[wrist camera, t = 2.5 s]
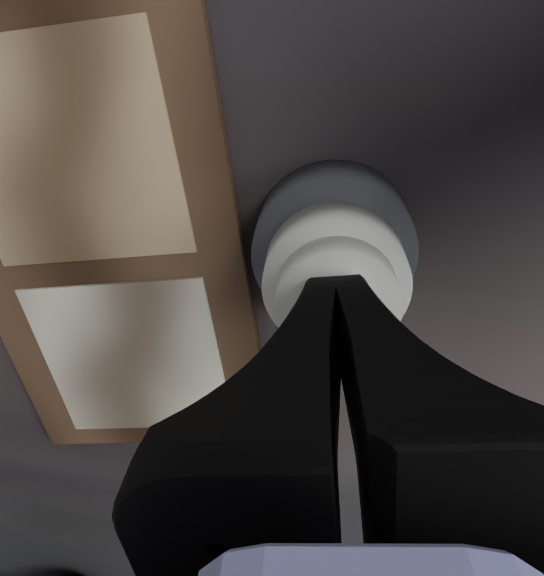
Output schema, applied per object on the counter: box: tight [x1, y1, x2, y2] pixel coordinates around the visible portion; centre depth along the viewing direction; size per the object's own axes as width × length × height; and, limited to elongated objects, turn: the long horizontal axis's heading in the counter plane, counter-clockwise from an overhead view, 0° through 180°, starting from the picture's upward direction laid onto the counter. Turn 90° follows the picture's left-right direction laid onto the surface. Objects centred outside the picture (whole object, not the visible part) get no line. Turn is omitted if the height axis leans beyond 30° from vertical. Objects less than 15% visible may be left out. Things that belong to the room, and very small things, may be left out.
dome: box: [261, 201, 413, 328], centre depth 13 cm, size 4×4×2 cm
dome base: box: [251, 160, 419, 291], centre depth 15 cm, size 5×5×2 cm
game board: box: [0, 0, 261, 444], centre depth 15 cm, size 10×25×1 cm, turn 7°
